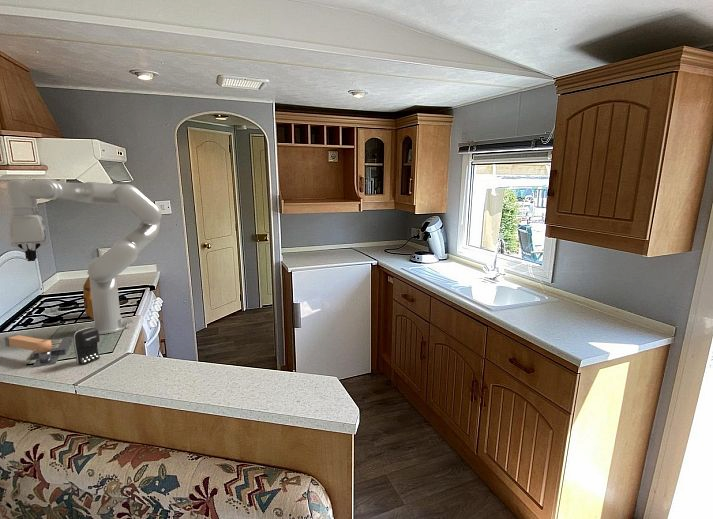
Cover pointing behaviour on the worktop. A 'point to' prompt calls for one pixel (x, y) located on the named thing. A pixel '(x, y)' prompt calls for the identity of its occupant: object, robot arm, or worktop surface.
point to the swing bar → (28, 343)
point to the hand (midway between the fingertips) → (31, 260)
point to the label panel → (57, 347)
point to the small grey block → (45, 359)
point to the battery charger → (86, 345)
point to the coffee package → (88, 298)
